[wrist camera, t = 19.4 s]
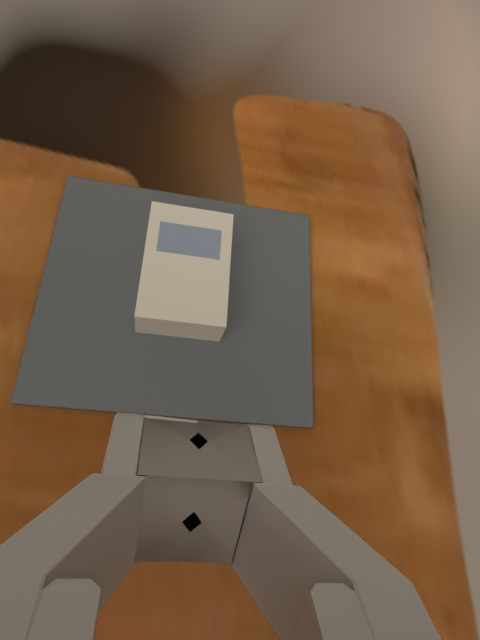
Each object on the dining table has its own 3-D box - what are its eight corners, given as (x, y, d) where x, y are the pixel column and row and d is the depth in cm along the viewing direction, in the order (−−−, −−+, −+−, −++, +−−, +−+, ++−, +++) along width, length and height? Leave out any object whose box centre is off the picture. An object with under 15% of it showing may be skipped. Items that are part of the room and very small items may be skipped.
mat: (12, 404, 28) (10, 403, 27) (68, 180, 35) (67, 175, 34) (310, 428, 31) (313, 427, 31) (307, 219, 38) (309, 215, 38)
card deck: (134, 316, 28) (151, 200, 31) (135, 332, 31) (151, 224, 34) (226, 326, 29) (233, 213, 32) (219, 341, 32) (226, 236, 35)
